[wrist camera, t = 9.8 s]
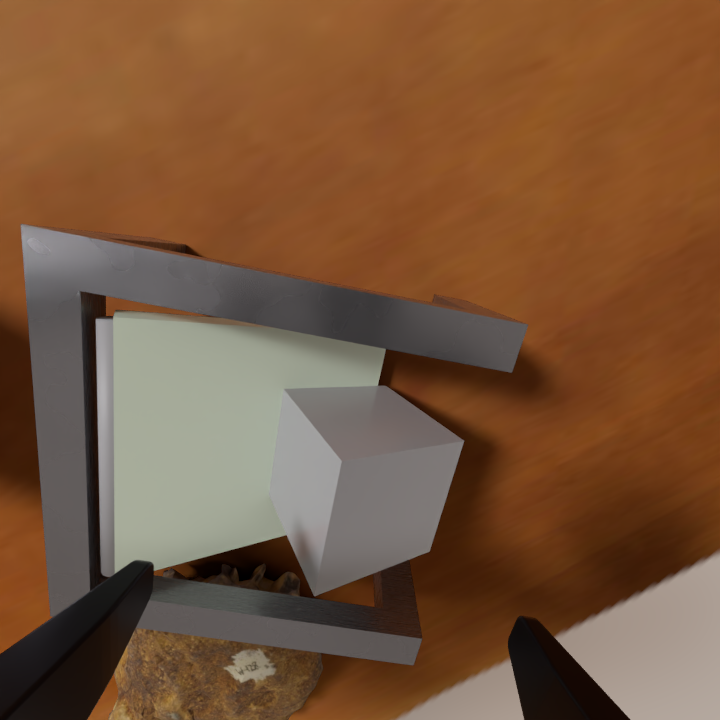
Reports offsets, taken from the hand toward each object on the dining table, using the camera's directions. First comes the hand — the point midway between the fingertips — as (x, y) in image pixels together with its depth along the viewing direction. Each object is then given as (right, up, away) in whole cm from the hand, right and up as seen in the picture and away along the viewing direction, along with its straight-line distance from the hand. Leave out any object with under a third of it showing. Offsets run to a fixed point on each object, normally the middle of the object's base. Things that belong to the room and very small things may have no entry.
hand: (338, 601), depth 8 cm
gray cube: (-1, +2, +7) cm, 8 cm away
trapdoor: (-4, +3, +6) cm, 8 cm away
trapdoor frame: (-3, +3, +9) cm, 10 cm away
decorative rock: (-8, -12, +14) cm, 20 cm away
